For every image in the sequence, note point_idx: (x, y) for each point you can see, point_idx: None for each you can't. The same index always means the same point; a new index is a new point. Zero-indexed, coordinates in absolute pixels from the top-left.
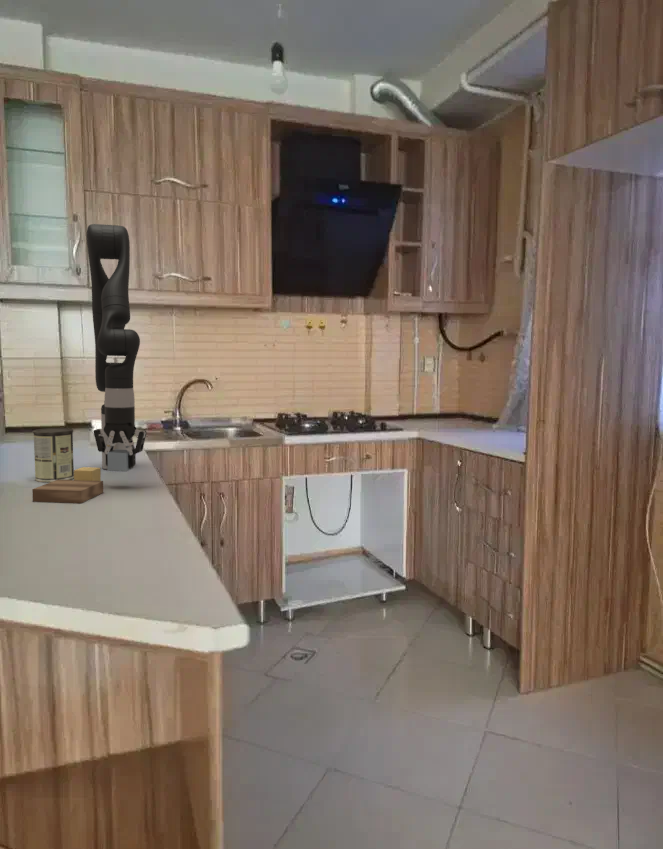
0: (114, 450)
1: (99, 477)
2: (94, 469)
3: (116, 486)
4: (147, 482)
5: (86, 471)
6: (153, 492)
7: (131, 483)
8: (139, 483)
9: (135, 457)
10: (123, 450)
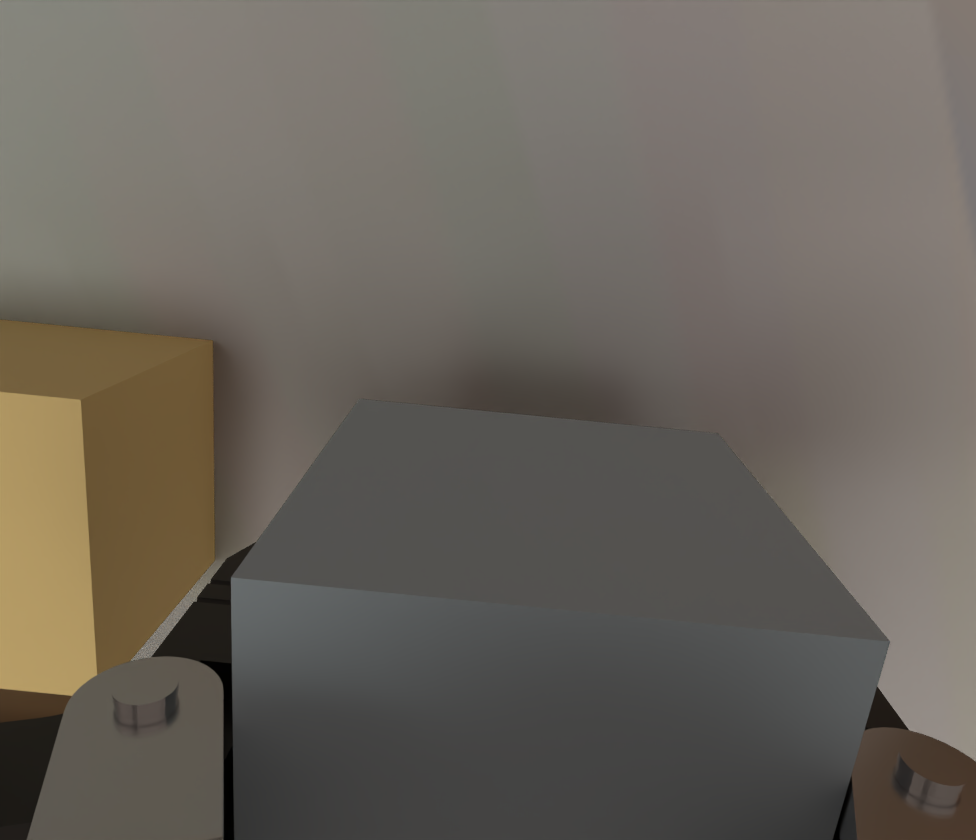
0: (293, 767)
1: (162, 400)
2: (64, 570)
3: (436, 391)
4: (801, 79)
5: (11, 684)
6: (956, 687)
7: (579, 176)
8: (694, 167)
9: (893, 712)
10: (575, 741)
